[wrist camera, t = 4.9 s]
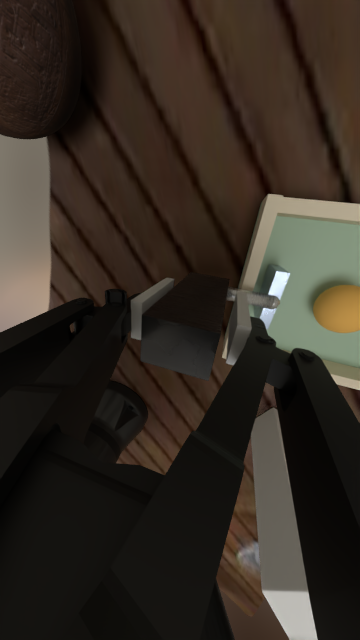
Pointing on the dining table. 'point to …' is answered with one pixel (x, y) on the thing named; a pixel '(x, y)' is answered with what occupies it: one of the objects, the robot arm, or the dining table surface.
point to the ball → (339, 309)
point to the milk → (279, 532)
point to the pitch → (307, 275)
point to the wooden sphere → (38, 66)
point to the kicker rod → (200, 320)
